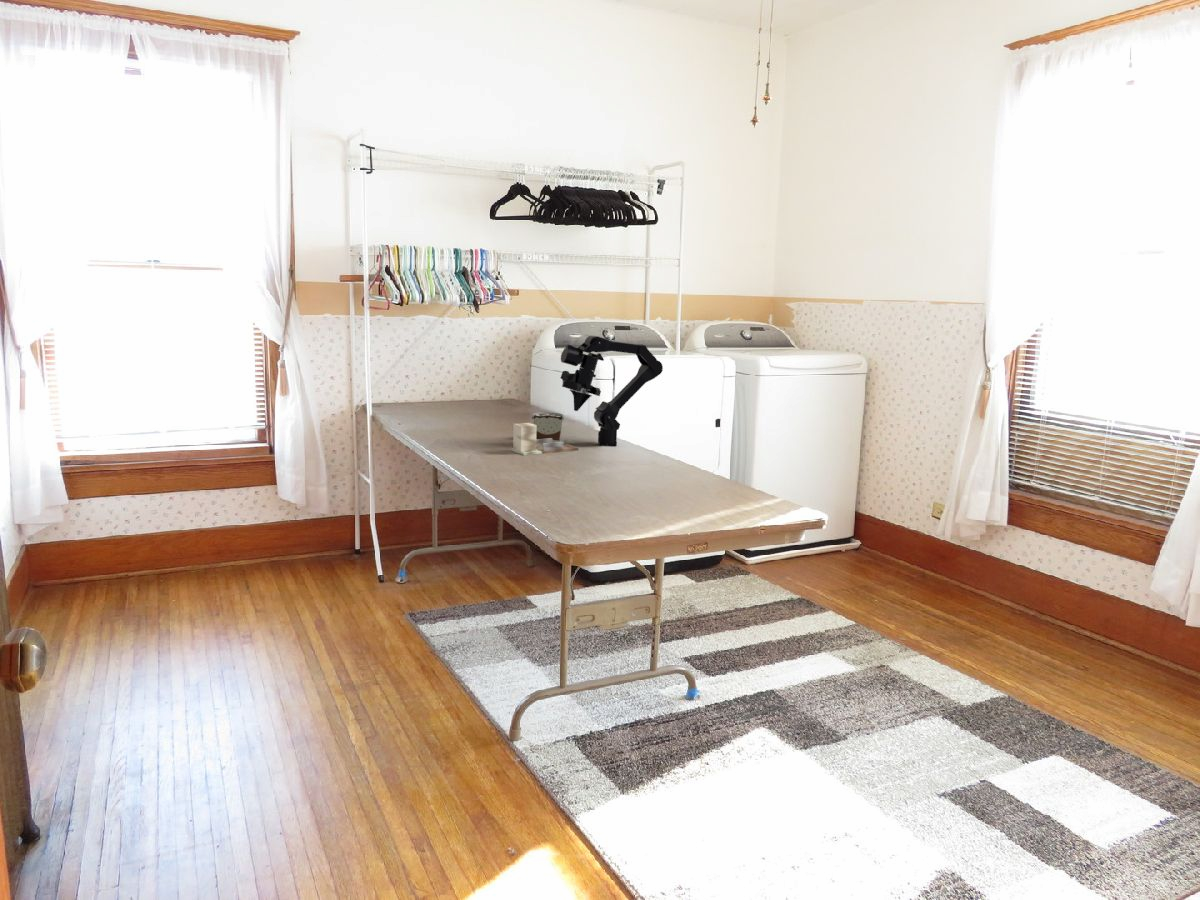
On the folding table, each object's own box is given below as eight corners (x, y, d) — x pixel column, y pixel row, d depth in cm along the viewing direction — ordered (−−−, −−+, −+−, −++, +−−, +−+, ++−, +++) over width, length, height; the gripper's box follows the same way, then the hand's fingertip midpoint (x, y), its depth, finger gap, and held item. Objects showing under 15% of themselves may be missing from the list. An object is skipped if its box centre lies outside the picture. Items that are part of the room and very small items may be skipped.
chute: (564, 445, 320) (564, 436, 320) (578, 450, 312) (578, 441, 311) (511, 450, 309) (511, 441, 308) (524, 455, 300) (524, 445, 300)
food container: (565, 438, 335) (566, 412, 333) (563, 441, 329) (564, 415, 327) (534, 436, 336) (534, 411, 334) (531, 439, 330) (531, 413, 328)
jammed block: (528, 447, 310) (528, 422, 308) (536, 450, 305) (536, 425, 303) (513, 448, 307) (513, 423, 305) (521, 451, 302) (521, 426, 300)
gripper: (581, 367, 328) (570, 407, 329) (555, 360, 312) (544, 402, 313) (606, 374, 323) (594, 415, 324) (581, 368, 306) (569, 410, 308)
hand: (575, 410), depth 317 cm, fingers closed
